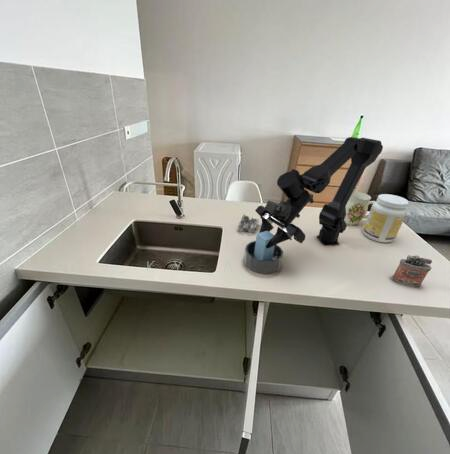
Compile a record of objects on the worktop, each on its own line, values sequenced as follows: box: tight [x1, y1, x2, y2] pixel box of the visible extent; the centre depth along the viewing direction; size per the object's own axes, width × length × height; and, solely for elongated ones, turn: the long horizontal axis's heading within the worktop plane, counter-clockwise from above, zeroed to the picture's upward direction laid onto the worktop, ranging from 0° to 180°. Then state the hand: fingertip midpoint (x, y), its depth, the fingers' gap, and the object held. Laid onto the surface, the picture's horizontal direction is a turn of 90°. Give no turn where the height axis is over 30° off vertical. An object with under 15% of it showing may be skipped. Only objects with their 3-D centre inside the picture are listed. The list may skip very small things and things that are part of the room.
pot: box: [243, 240, 284, 275], centre depth 81 cm, size 12×12×6 cm
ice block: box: [254, 231, 275, 261], centre depth 79 cm, size 4×4×9 cm
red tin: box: [390, 254, 433, 289], centre depth 75 cm, size 8×3×10 cm, turn 69°
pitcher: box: [344, 190, 376, 226], centre depth 110 cm, size 11×18×14 cm, turn 82°
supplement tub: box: [362, 193, 410, 243], centre depth 99 cm, size 12×12×17 cm
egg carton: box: [238, 213, 260, 234], centre depth 103 cm, size 11×8×4 cm
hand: (261, 243), depth 77 cm, fingers closed on ice block, 4 cm apart
